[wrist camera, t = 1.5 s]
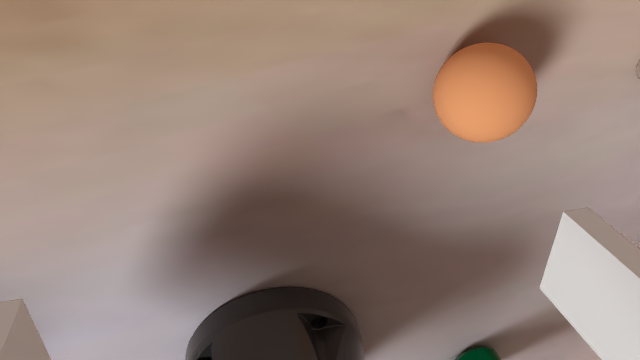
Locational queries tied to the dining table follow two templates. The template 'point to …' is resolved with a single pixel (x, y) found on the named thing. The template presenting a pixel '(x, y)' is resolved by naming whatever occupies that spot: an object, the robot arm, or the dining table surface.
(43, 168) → the dining table surface
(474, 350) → the soda can
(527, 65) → the ball
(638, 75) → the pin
